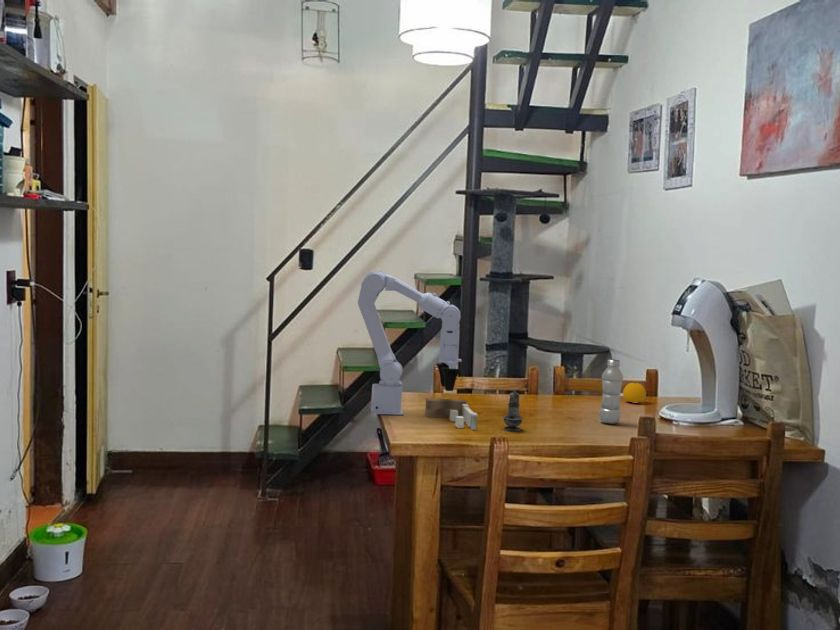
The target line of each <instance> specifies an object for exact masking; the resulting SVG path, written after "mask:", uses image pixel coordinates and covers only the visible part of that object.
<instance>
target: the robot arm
mask: <svg viewBox="0 0 840 630" xmlns="http://www.w3.org/2000/svg"><path fill="white" fill-rule="evenodd" d="M383 290H384V291H385V292H386V291H388V292H389V291H390V292H391V291H393V292H397V293H399V294H401V295H403V296H405V297H407V298H408V299H410V300H412V301H414V302H416V303H418V307H419V309H420V310H422V311H424V312H426V314H429V315H431V316H432V317H434V318H436V319H441V328H440V342H439V356H438V357H439V358H438V362H439V363H437V362H436V364H435V365H436V367H437V369H438V373H439V379H440V385H441V387H444V388H445V389H444V390H445V391H446V392H453V391H454V388H455V385H456V380H457V378H458V375H459V374H460V372H461V369H460V368H457V364H458V363H462V361H463V360H462V359H461V358H459V346H460V344H459V343H460V321H461V318H462V317H461V311H460V308H458V307H457V306H456V305H454V304H451V302H450V301H449V300H447V301H445V300H444V299H442V298H440V297H439V296H437V293H435V292H432V293H431V292H425V293H423V292H420V291H419V290H417V289H415V288H414V287H413V286H411V285H409V284H407V283H406V282H404V281H403V280H401V279H399V278H397V277H395V276H393V275H391V274H387V273H385V272H383V271H381V270H373V271H370V272H368V273H367V274H366V275H365V277H364V279H363V280H362V281H361V285H360V291H359V296H358V299H357V305H358V309H359V311H360V313H361V316H362V319H363V322H364V324H365V327H366V329H367V332H368V336H369V338H370V340H371V342H372V345H373V348H374V351H375V354H376V357H377V361H378V362H377V363H378V366H379V369H380V371H379V378H380V380H379V383H373V384H371V386H372V387H371V401H370V410H371V413H372V414H373V415H398V416H399V415H404V411H403V410H402V401H403V400H402V398H403V397H402V396H403V383H404V382H402V381H401V377H402V376H403V372H404V371H403V369H404V368H403V365H402V364H401V363H400V362H399V361H398V360H397V359H396V358H397V357H396V355H395V353H394V352H393V350H392V348H391V346H390V342H389V340H388V337H387V334H386V332H385V329H384V326H383V323H382V321H381V318H380V315H379V313H378V310H377V308H376V305H375V304H376V302H377V299H378V297H379V296H380V294H381V293H382V291H383Z"/></svg>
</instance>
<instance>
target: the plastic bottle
mask: <svg viewBox="0 0 840 630" xmlns="http://www.w3.org/2000/svg"><path fill="white" fill-rule="evenodd" d="M606 365H607V367H606V368H605V370H604V371H603V372H602V373H601V383H602V384H601V385H602V396H601V397H602V398H601V404H600V407H599V412H598V417H599V421H600V422H602V423H604V424H607V423H610V424H609V425H615V424H619V422H620V420H621V415H622V414H621V408H620V407H621V403H620V402H621V401H620V399H621V390H622V386H623V381H624V376H623V373H622V371H621V369H620V368H619V367H620V365H621V361H620V359H616V358H615V359H614V358H609V359H607V363H606Z"/></svg>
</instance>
